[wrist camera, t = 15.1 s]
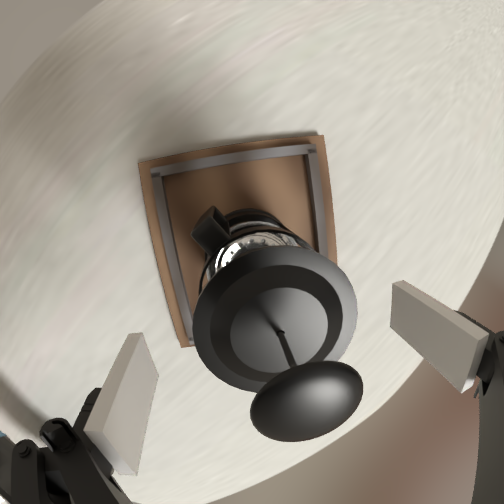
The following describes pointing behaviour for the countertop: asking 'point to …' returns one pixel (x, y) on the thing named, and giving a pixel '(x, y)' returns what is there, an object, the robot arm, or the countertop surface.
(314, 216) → the serving board
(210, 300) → the french press
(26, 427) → the countertop surface
